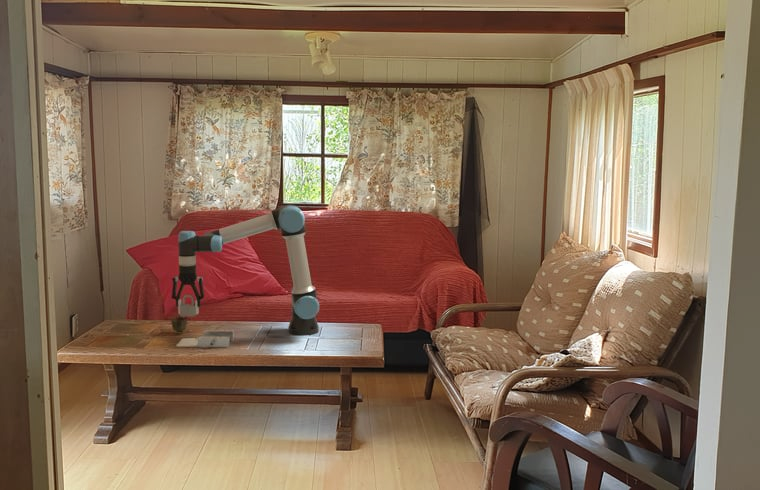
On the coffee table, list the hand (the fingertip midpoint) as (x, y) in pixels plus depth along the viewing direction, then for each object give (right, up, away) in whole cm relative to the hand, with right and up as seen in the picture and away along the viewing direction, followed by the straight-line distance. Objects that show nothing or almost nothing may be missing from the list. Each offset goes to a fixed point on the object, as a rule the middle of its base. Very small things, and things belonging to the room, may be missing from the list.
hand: (188, 313), depth 319 cm
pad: (0, -14, +2) cm, 14 cm away
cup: (-9, -12, +18) cm, 23 cm away
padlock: (0, -1, 0) cm, 1 cm away
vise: (+12, -14, +1) cm, 19 cm away
